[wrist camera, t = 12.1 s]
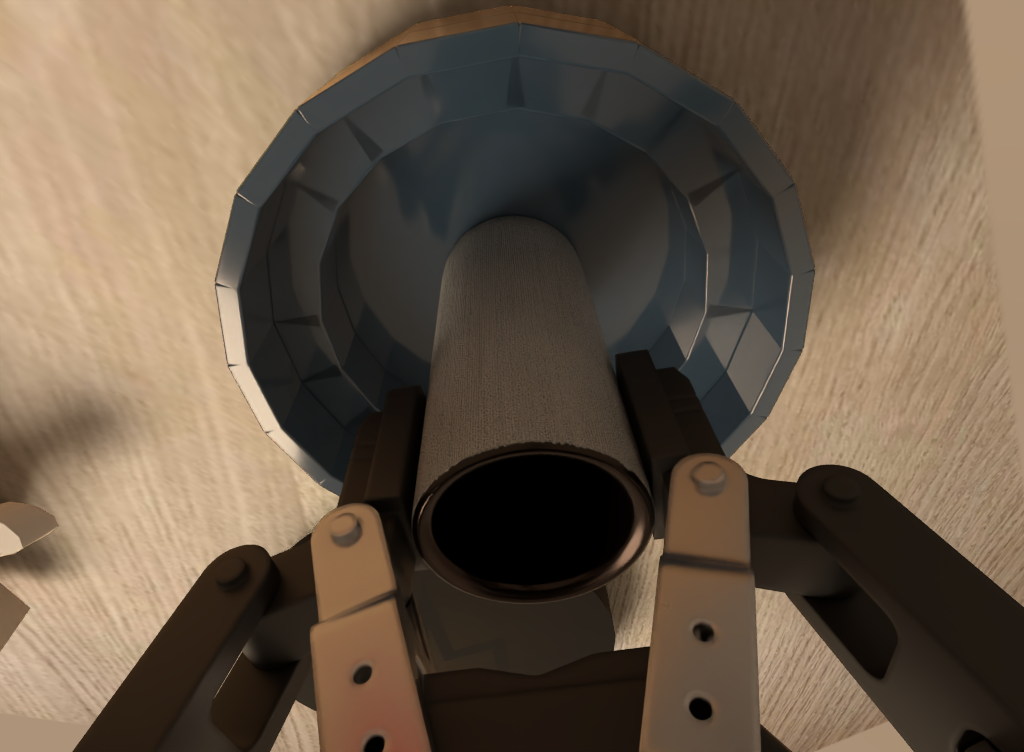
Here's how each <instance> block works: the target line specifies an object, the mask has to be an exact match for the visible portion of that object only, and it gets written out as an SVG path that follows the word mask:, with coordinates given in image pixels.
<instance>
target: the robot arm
mask: <svg viewBox="0 0 1024 752" xmlns="http://www.w3.org/2000/svg"><path fill="white" fill-rule="evenodd" d="M615 364H616V377H617V382H618V385H619V389H620V392H621V395H622V398H623V402H624V405H625V408H626V411H627V415H628V418H629V421H630V424H631V428H632V431H633V434H634V437H635V441H636V444H637V447H638V450H639V454H640V457H641V460H642V463H643V467H644V470H645V473H646V477H647V480H648V483H649V486H650V490H651V493H652V497H653V501H654V505H655V525H654V530H653V537H654V540H655V539H663V538H664V548H663V555H661V556H660V561H659V569H658V578H657V588H656V597H655V606H654V616H653V625H652V634H651V644H650V646H649V647H641V648H633V649H625V650H617V651H609V652H601V653H594V654H591V655H589V656H586V657H584V658H581V659H579V660H576V661H574V662H571V663H569V664H566V665H564V666H561V667H559V668H556V669H554V670H551V671H549V672H546V673H544V674H541V675H535V676H534V675H525V674H518V673H511V672H505V671H498V670H491V669H484V668H471V669H463V670H455V671H447V672H439V673H436V670H435V667H434V663H433V660H432V656H431V652H430V649H429V645H428V641H427V638H426V634H425V630H424V626H423V623H422V619H421V615H420V612H419V608H418V604H417V601H416V597H415V595H414V592H413V590H412V588H413V579H414V571H421V570H428V569H430V568H429V567H428V566H427V565H426V564H425V562H424V561H423V560H422V558H421V556H420V555H419V553H418V551H417V549H416V547H415V544H414V541H413V536H412V529H411V522H412V510H413V502H414V494H415V486H416V479H417V471H418V463H419V455H420V447H421V440H422V432H423V424H424V416H425V408H426V398H425V395H424V392H423V389H422V387H421V385H419V384H418V385H412V386H405V387H399V388H392V389H389V390H388V392H387V396H386V400H385V405H384V409H383V411H380V412H373V413H370V414H369V415H368V416H367V418H366V419H365V420H364V422H363V423H362V424H361V425H360V427H359V428H358V430H357V434H356V438H355V441H354V448H353V449H352V453H351V457H350V460H351V461H350V462H349V464H348V468H347V472H346V475H345V479H344V483H343V487H342V491H341V494H340V498H339V502H338V506H337V508H336V509H334V510H332V511H331V512H329V513H328V514H327V515H325V516H324V517H323V518H322V519H321V520H320V521H319V523H318V524H317V525H316V527H315V528H314V530H313V533H312V536H311V540H309V541H307V542H305V543H303V544H301V545H299V546H296V547H294V548H291V549H289V550H287V551H284V552H282V553H279V554H277V555H274V556H272V557H270V555H269V554H268V552H267V551H266V550H265V549H264V548H263V547H261V546H258V545H243V546H239V547H236V548H233V549H231V550H229V551H227V552H225V553H223V554H222V555H220V556H219V557H217V558H216V559H215V560H214V561H213V562H212V563H211V564H210V565H208V567H207V568H206V569H205V570H204V572H203V573H202V574H201V576H200V577H199V578H198V580H197V581H196V583H195V584H194V585H193V587H192V588H191V589H190V591H189V592H188V594H187V595H186V596H185V598H184V599H183V600H182V602H181V603H180V605H179V606H178V607H177V609H176V610H175V611H174V613H173V614H172V616H171V617H170V618H169V620H168V621H167V622H166V624H165V625H164V627H163V628H162V629H161V631H160V632H159V633H158V635H157V636H156V638H155V639H154V640H153V642H152V643H151V644H150V646H149V647H148V648H147V650H146V651H145V653H144V654H143V655H142V657H141V658H140V659H139V661H138V662H137V664H136V665H135V666H134V668H133V669H132V670H131V672H130V673H129V675H128V676H127V677H126V679H125V680H124V681H123V683H122V684H121V686H120V687H119V688H118V690H117V691H116V692H115V694H114V695H113V697H112V698H111V699H110V701H109V702H108V703H107V705H106V706H105V708H104V709H103V710H102V712H101V713H100V714H99V716H98V717H97V719H96V720H95V721H94V723H93V724H92V725H91V727H90V728H89V730H88V731H87V732H86V734H85V735H84V737H83V738H82V739H81V741H80V742H79V743H78V745H77V746H76V748H75V749H74V750H73V752H270V751H271V749H272V747H273V745H274V742H275V740H276V738H277V736H278V734H279V732H280V730H281V728H282V726H283V724H284V722H285V720H286V718H287V716H288V714H289V712H290V710H291V708H292V706H293V704H294V702H295V700H296V698H297V696H298V694H299V692H300V690H301V688H302V686H303V684H304V682H305V680H306V678H307V676H308V674H309V672H310V669H311V667H312V666H313V677H314V688H315V699H316V710H317V722H318V733H319V744H320V752H792V751H791V750H789V749H788V748H787V747H786V746H785V745H784V744H783V743H782V742H780V741H779V740H778V739H777V738H776V737H775V736H774V735H772V734H771V733H770V732H769V731H768V730H767V729H766V728H765V727H763V726H762V725H761V724H760V710H759V682H758V655H757V628H756V600H755V588H761V589H767V590H773V591H779V592H785V593H786V595H787V596H788V598H789V599H790V600H791V601H792V603H793V604H794V605H795V606H796V608H797V609H798V610H799V611H800V612H801V614H802V615H803V616H804V617H805V619H806V620H807V621H808V622H809V624H810V625H811V626H812V627H813V628H814V630H815V631H816V632H817V633H818V635H819V636H820V637H821V638H822V639H823V641H824V642H825V643H826V644H827V646H828V647H829V648H830V649H831V651H832V652H833V653H834V654H835V655H836V657H837V658H838V659H839V660H840V662H841V663H842V664H843V665H844V666H845V668H846V669H847V670H848V671H849V673H850V674H851V675H852V676H853V678H854V679H855V680H856V681H857V682H858V684H859V685H860V686H861V687H862V689H863V690H864V691H865V692H866V693H867V695H868V696H869V697H870V698H871V700H872V701H873V702H874V703H875V705H876V706H877V707H878V708H879V709H880V711H881V712H882V713H883V714H884V716H885V717H886V718H887V719H888V720H889V722H890V723H891V724H892V725H893V727H894V728H895V729H896V730H897V732H898V733H899V734H900V735H901V736H902V738H903V739H904V740H905V741H906V743H907V744H908V745H909V746H910V747H911V749H912V750H913V751H914V752H1024V607H1023V606H1022V605H1020V604H1019V603H1018V602H1017V601H1016V600H1014V599H1013V598H1012V597H1011V596H1010V595H1009V594H1007V593H1006V592H1005V591H1004V590H1003V589H1001V588H1000V587H999V586H998V585H997V584H996V583H994V582H993V581H992V580H991V579H990V578H988V577H987V576H986V575H985V574H984V573H983V572H981V571H980V570H979V569H978V568H977V567H975V566H974V565H973V564H972V563H971V562H970V561H968V560H967V559H966V558H965V557H964V556H962V555H961V554H960V553H959V552H958V551H957V550H955V549H954V548H953V547H952V546H951V545H949V544H948V543H947V542H946V541H945V540H944V539H942V538H941V537H940V536H939V535H938V534H936V533H935V532H934V531H933V530H932V529H930V528H929V527H928V526H927V525H926V524H925V523H923V522H922V521H921V520H920V519H919V518H917V517H916V516H915V515H914V514H913V513H912V512H910V511H909V510H908V509H907V508H906V507H904V506H903V505H902V504H901V503H900V502H899V501H897V500H896V499H895V498H894V497H893V496H891V495H890V494H889V493H888V492H887V491H886V490H884V489H883V488H882V487H881V486H880V485H878V484H877V483H876V482H875V481H874V480H872V479H871V478H870V477H868V476H867V475H865V474H863V473H862V472H860V471H857V470H855V469H852V468H849V467H845V466H840V465H820V466H816V467H812V468H810V469H808V470H806V471H805V472H804V473H802V475H801V476H800V477H799V479H798V481H797V483H795V482H786V481H776V480H768V479H762V478H758V477H755V476H752V475H749V474H747V473H745V471H744V470H743V468H742V467H741V466H740V465H739V464H738V463H736V462H735V461H733V460H732V459H730V458H728V457H726V455H725V454H724V451H723V449H722V447H721V445H720V443H719V441H718V439H717V437H716V435H715V433H714V430H713V428H712V426H711V424H710V422H709V420H708V418H707V416H706V414H705V412H704V409H702V405H701V403H700V401H699V399H698V397H696V393H695V390H694V388H693V386H692V384H691V382H690V380H689V378H687V377H686V376H685V375H683V374H682V373H681V372H680V371H678V370H677V369H676V368H674V367H668V368H662V369H656V368H655V366H654V363H653V361H652V359H651V356H650V354H649V351H648V350H647V349H644V350H638V351H632V352H625V353H619V354H616V355H615ZM241 651H242V653H241ZM240 653H241V655H240ZM239 655H240V656H239ZM238 656H239V658H238ZM237 658H238V660H237ZM236 660H237V661H236ZM235 661H236V663H235ZM234 663H235V665H234ZM233 665H234V666H233ZM232 667H233V668H232ZM231 668H232V670H231ZM230 670H231V672H230ZM229 672H230V673H229ZM228 673H229V675H228ZM227 675H228V677H227ZM226 677H227V678H226ZM225 678H226V680H225ZM224 680H225V682H224ZM223 682H224V683H223ZM222 683H223V685H222ZM221 685H222V687H221ZM220 687H221V688H220ZM219 688H220V690H219ZM218 690H219V692H218ZM217 692H218V693H217ZM216 693H217V695H216ZM215 695H216V697H215Z"/></svg>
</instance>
